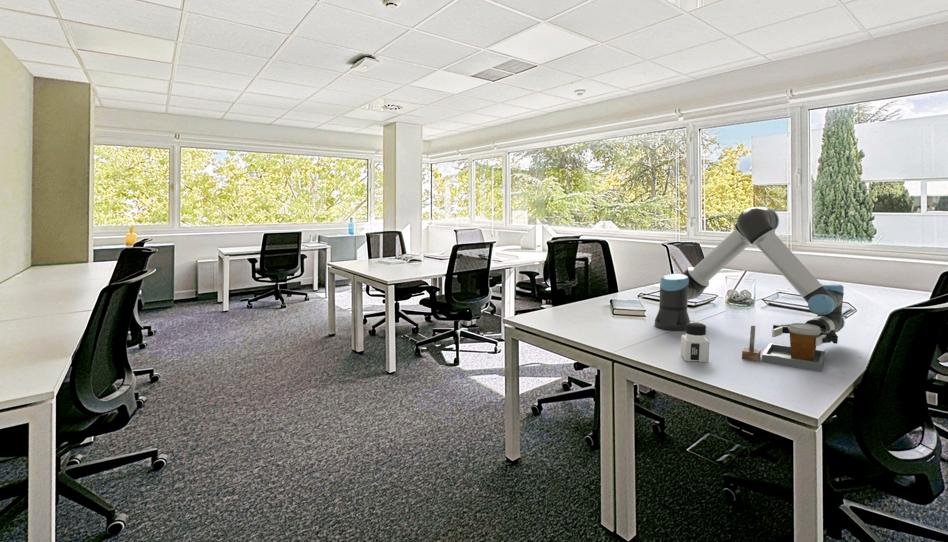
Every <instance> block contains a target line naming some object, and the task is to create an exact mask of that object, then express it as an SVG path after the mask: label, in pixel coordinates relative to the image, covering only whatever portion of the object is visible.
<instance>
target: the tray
mask: <svg viewBox="0 0 948 542" xmlns="http://www.w3.org/2000/svg"><path fill="white" fill-rule="evenodd" d="M825 355H826V351H825V350H818V349H816V350H815V354H814V358H813V361H805V360H799V359H793V358H791V347H790V345H786V344H785V345H783V344H778V343H770V342H769V343H768V345H767V346H766V347H765V349H764V351H763V352H762V355H761V362H762V363H768V364H775V365H778V366H779V365H780V366H786V367H792V368H799V369H802V370H803V369H804V370H808V371H809V370H810V371H817V372H822V371H823V366H824V362H825V357H826V356H825Z"/></svg>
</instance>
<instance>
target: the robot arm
mask: <svg viewBox="0 0 948 542" xmlns="http://www.w3.org/2000/svg"><path fill="white" fill-rule="evenodd" d="M779 224H780V218H779V215H778V213H777V212H776V211H775V210H774V209H772V208H770V207H767V206H756V207H754V206H752V207H748V208H746V209H744V210H742V211H741V213H740V214H739V215H738V216H737V220H736V223H735V224H734V225H733V229H734V230H733V231H732V232H731V233H730V234H728V236H726V237H725V238H724V239H723V240H722V241H721V242H720V243H719V244H718V245H717V246H715V248H714V249H713V250H712V251H710V252H709V253H708V254H707V255H706V256H705V257H704V258H703V259H702V260H700V261H699V262H698V263H697V264H696V265H695V266H694V267H693V266H689V267H688V268H686V269H685V271H684V272H683V273H671V274H670V273H669V274H665V275H663V276H662V277H661V278H660V281H659V282H660V283H659V287H660V288H659V306H658V307H659V308H658V312H657V314H656V316H655V319H654V326H655V327H657V328H658V327H659V329H661V328H662V330H666V329H668V330H669V331H686V324H687V323H690V322H691V319H690V316H689V313H688V301H690V300H693V299H696V298H698V297H700V296H702V295H701V294H702V293H704V290H705V289H706V288H707V287H709V285H710V280H711V279H712V278H714V276H716V275H717V274H718V273H720V271H721V270H722V269H724V268H725V267H726V266H727V265H728V264H730V263H731V262H732V261H733V260H734V259H736V258H737V257H738V255H740V254H741V253H742V252H743V251H744V250H746V249H747V248H748V247H749V246H750V245H752V246H756V247H757V248H758V250H760V251H761V252H762V254H763V255H764V256H765V258H767V259H768V260H769V261H770V262H771V264H772V265H773V266H774V267H775V268H776V269H777V271H778V272H779V273H780V274H781V275H782V276H783V277H784V279H786V280H787V281H788V282H789V284H791V286H792V287H793V289H794V290H796V292H797V293H798V294H799V295H800V296H801V297H802V298H803V299H804V301H805V302H806V303H807V307H808V309H809V311H810V312H811V313H812V314H814V315H817V317H814V318H811V319H808V320H807V321H805V324H811V325H816V326H818V327H820V330H821V333H820V334H819V337H817V338H816V347H819V346H822V345H823V344H827V343H828V344H829V343H831V342H832V343H833V344H838V341H839V340H838V339H839V336H838V335H837V333H838V332H840V331H841V330H842V329H843V328H844V327H845V323H846V321H845V318H844V317H843V313H842V312H843V303H844V294H845V293H844V285H842V284H840V283H831V282H825V283H821V282H820V281H819V280H818V279H817V278H816V277H815V276H814V274H813V273H811V271H810V270H809V269H808V268H807V267H806V266H805V265H804V263H802V261H801V260H800V259H799V258H798V257H797V256H796V254H794V253H793V251H791V250H790V248H789V247H788V246H787V245H786V244H785V243H784V242H783V241H782V239H780V238H779V236H778V235H777V234H776V229H777V228H778V227H779ZM790 324H791V323H785V324H773V326H772V330H771V337H772V338H776V337H779V336H781V335H783V334H790V332H789V329H788V327H789V326H790Z"/></svg>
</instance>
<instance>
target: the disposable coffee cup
mask: <svg viewBox="0 0 948 542" xmlns="http://www.w3.org/2000/svg"><path fill="white" fill-rule="evenodd" d="M805 323H806V322H805ZM805 323H803V322H802V323H801V322H792V323H789V324H790V326H789V327H788V329H789V332H790V333H789V343H790V345H789V346H790V347H791V358H793V359H799V360H805V361H813V358H814V354H815V350H817V346H816V338H817V337H819V334H820V333H821V330H820V327H818V326H816V325H811V324H805Z"/></svg>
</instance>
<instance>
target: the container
mask: <svg viewBox="0 0 948 542" xmlns="http://www.w3.org/2000/svg"><path fill="white" fill-rule="evenodd" d="M706 334H707V326H706V325H705V324H704V323H702V322H694V321H690V323H687V324H686V330H685V334H682V335H681V336H680V337H681V340H680V356H681V358H683V361H685V362H689V361H699V362H698V363H709V362H710V360H709V359H710V346H711V345H710V344H711V343H710V341H709V340H708V339H707V338H706V336H707V335H706Z"/></svg>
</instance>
